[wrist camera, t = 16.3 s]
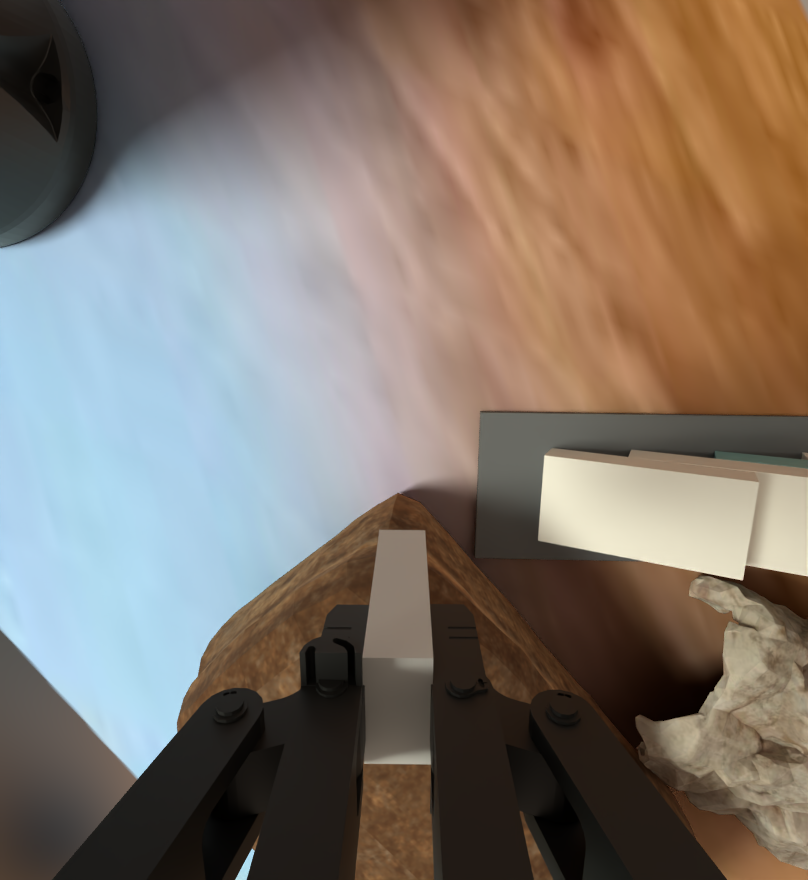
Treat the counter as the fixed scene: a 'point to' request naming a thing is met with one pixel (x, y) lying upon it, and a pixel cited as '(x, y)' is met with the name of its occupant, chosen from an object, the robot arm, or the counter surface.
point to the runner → (534, 433)
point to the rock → (746, 725)
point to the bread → (349, 583)
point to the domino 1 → (649, 510)
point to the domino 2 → (767, 511)
